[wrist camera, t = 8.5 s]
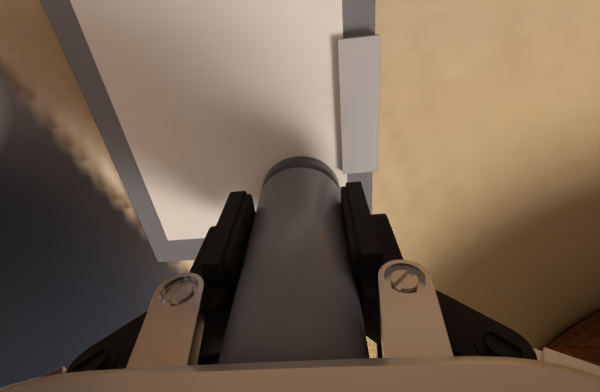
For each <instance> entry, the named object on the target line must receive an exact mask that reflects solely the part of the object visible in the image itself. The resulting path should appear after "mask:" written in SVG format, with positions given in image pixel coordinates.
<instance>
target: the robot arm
mask: <svg viewBox="0 0 600 392" xmlns="http://www.w3.org/2000/svg"><path fill="white" fill-rule="evenodd" d="M340 189H341V205H342V212H343V218H344V224H345V230H346V236H347V242H348V248H349V254H350V260H351V266H352V272H353V278H354V281H355V283H356V286H357V289H358V295H359V300H360V306H361V312H362V318H363V324H364V329H365V335H366V336H367V337H369V338H370V339H371V340H373V341H374V342H376V358H367V359H337V360H309V361H283V362H258V363H233V364H218V360H219V356H220V352H221V348H222V344H223V340H224V336H225V332H226V328H227V324H228V320H229V316H230V312H231V308H232V304H233V300H234V296H235V292H236V288H237V284H238V281H239V277H240V273H241V269H242V265H243V261H244V257H245V253H246V249H247V245H248V241H249V237H250V233H251V229H252V225H253V221H254V217H255V213H256V212H255V207H254V203H253V198H252V195H251V194H247V193H246V191H236V192H230V194H229V196H228V199H227V201H226V203H225V206H224V208H223V210H222V213H221V215H220V217H219V220H218V222H217V225H216V226H212V227H210V229H209V230H208V232H207V235H206V237H205V239H204V241H203V243H202V246H201V248H200V250H199V252H198V255H197V257H196V259H195V261H194V263H193V266H192V268H191V270H190V272H189V273H182V274H178V275H176V276H173V277H171V278H169V279H168V280H167V281H165V282H163V283H162V284H161V285H160V286H159V288H158V289H157V290H156V292H155V294H154V296H153V299H152V302H151V304H150V307H149V310H148V311H147V312H145V313H144V314H142V315H140V316H139V317H137V318H136V319H134V320H133V321H131V322H129V323H128V324H126V325H125V326H123V327H121V328H120V329H118V330H117V331H115V332H113V333H112V334H110V335H109V336H107V337H106V338H104V339H102V340H101V341H99V342H98V343H96V344H94V345H93V346H91V347H90V348H88V349H87V350H86V351H84V352H83V353H82V354H80V355H79V356H78V357H77V358H76V359H75V360H74V361H73V362H72V364H71V365H70V367H69V368H68V369H67V370H66V369H65V368H64V367H61V368H59V369H56V370H54V371H52V372H50V373H48V374H46V375H43V376H41V377H39V378H35V379H31V380H28V381H24V382H20V383H17V384H13V385H9V386H6V387H4V388H1V389H0V392H600V366H597V365H594V364H591V363H589V362H586V361H583V360H580V359H577V358H574V357H571V356H568V355H565V354H563V353H560V352H557V351H554V350H551V349H548V348H545V347H544V348H543V350H542V351H540V350H537V349H534V348H532V346H531V345H530V344H529V343H528V342H527V341H526V340H525V339H524V338H523V337H522V336H521V335H519V334H518V333H516V332H515V331H513V330H512V329H510V328H508V327H506V326H504V325H502V324H500V323H498V322H496V321H494V320H493V319H491V318H489V317H487V316H485V315H483V314H481V313H479V312H477V311H475V310H473V309H471V308H470V307H468V306H466V305H464V304H462V303H460V302H458V301H456V300H454V299H452V298H450V297H448V296H447V295H445V294H443V293H441V292H439V291H437V290H435V287H434V284H433V280H432V277H431V275H430V273H429V272H428V271H427V270H426V269H425V268H424V267H423V266H421V265H420V264H418V263H415V262H413V261H410V260H403V257H402V255H401V252H400V250H399V247H398V244H397V242H396V239H395V236H394V234H393V231H392V228H391V226H390V223H389V220H388V218H387V216H386V214H373V215H371V214H370V210H369V207H368V204H367V200H366V197H365V194H364V190H363V187H362V184H361V181H359V182H347V183H346V186H344V187H341V188H340Z"/></svg>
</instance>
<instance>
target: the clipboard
mask: <svg viewBox="0 0 600 392" xmlns="http://www.w3.org/2000/svg"><path fill="white" fill-rule="evenodd" d="M41 2H42V4H43V6H44V9H45V11H46V13H47V15H48V17H49V20H50V22H51V24H52V26H53V29H54V31H55V33H56V35H57V37H58V40H59V42H60V44H61V46H62V49H63V51H64V53H65V55H66V58H67V60H68V62H69V64H70V66H71V69H72V71H73V73H74V75H75V78H76V80H77V82H78V84H79V86H80V89H81V91H82V93H83V95H84V98H85V100H86V102H87V104H88V107H89V109H90V111H91V113H92V115H93V118H94V120H95V122H96V124H97V127H98V129H99V131H100V133H101V136H102V138H103V140H104V142H105V144H106V147H107V149H108V151H109V153H110V156H111V158H112V160H113V162H114V164H115V167H116V169H117V171H118V173H119V176H120V178H121V180H122V182H123V185H124V187H125V189H126V191H127V193H128V196H129V198H130V200H131V202H132V205H133V207H134V209H135V211H136V214H137V216H138V218H139V220H140V222H141V225H142V227H143V229H144V231H145V234H146V236H147V238H148V240H149V242H150V245H151V247H152V249H153V251H154V253H155V256H156V258H157V260H158V262H167V261H182V260H195V259H196V257H197V255H198V252H199V250H200V248H201V246H202V243H203V241H204V239H205V237H206V235H207V232H208V230H209V229H210V227H212V226H216V225H217V222H218V220H219V217H220V215H221V213H222V210H223V208H224V206H225V203H226V201H227V199H228V196H229V194H230V192H236V191H246V193H247V194H251V195H252V198H253V203H254V207H255V212H256V209H257V205H258V201H259V197H260V193H261V189H262V185H263V182H264V178H265V176H266V174H267V173H268V172H269V170H270V169H271V168H272V167H273V166H274V165H276V164H277V163H279V162H280V161H282V160H285V159H287V158H291V157H299V156H303V157H310V158H314V159H317V160H319V161H321V162H323V163H325V164H326V165H327V166H329V167H330V168H331V169H332V171H333V172H334V173H335V175H336V177H337V179H338V181H339V185H340V188H341V187H344V186H346V183H347V182H359V181H361V184H362V187H363V190H364V194H365V197H366V200H367V204H368V207H369V210H370V214H371V215H372V172H375V171H377V156H378V117H379V79H380V40H381V35H379V34H375V0H41ZM340 191H341V189H340Z"/></svg>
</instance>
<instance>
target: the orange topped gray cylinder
mask: <svg viewBox="0 0 600 392" xmlns="http://www.w3.org/2000/svg"><path fill="white" fill-rule="evenodd" d="M367 358H369V352H368V347H367V341H366V335H365V329H364V324H363V318H362V312H361V306H360V300H359V295H358V289H357V286H356V283H355V281H354V278H353V272H352V266H351V260H350V254H349V248H348V242H347V236H346V230H345V224H344V218H343V212H342V205H341V191H340V185H339V181H338V179H337V177H336V175H335V173H334V172H333V171H332V169H331V168H330V167H329V166H327V165H326V164H325V163H323V162H321V161H319V160H317V159H314V158H310V157H303V156H299V157H291V158H287V159H285V160H282V161H280V162H279V163H277V164H276V165H274V166H273V167H272V168H271V169H270V170H269V172H268V173H267V174H266V176H265V178H264V182H263V185H262V189H261V193H260V197H259V201H258V205H257V209H256V213H255V217H254V221H253V225H252V229H251V233H250V237H249V241H248V245H247V249H246V253H245V257H244V261H243V265H242V269H241V273H240V277H239V281H238V284H237V288H236V292H235V296H234V300H233V304H232V308H231V312H230V316H229V320H228V324H227V328H226V332H225V336H224V340H223V344H222V348H221V352H220V356H219V360H218V364H233V363H258V362H283V361H309V360H337V359H367Z"/></svg>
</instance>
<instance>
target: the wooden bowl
mask: <svg viewBox="0 0 600 392" xmlns="http://www.w3.org/2000/svg"><path fill="white" fill-rule="evenodd" d="M546 348H548V349H551V350H554V351H557V352H560V353H563V354H565V355H568V356H571V357H574V358H577V359H580V360H583V361H586V362H589V363H591V364H594V365H597V366H600V311H599V312H597V313H595V314H593V315H591V316H590V317H588V318H586V319H584V320H583V321H581V322H579V323H578V324H576V325H575V326H573V327H571V328H570V329H568V330H567V331H566V332H564V333H563V334H562V335H560V336H559V337H557V338H556V339H555V340H554V341H553V342H551V343H550V344H549V345H548V346H547V347H546Z"/></svg>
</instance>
